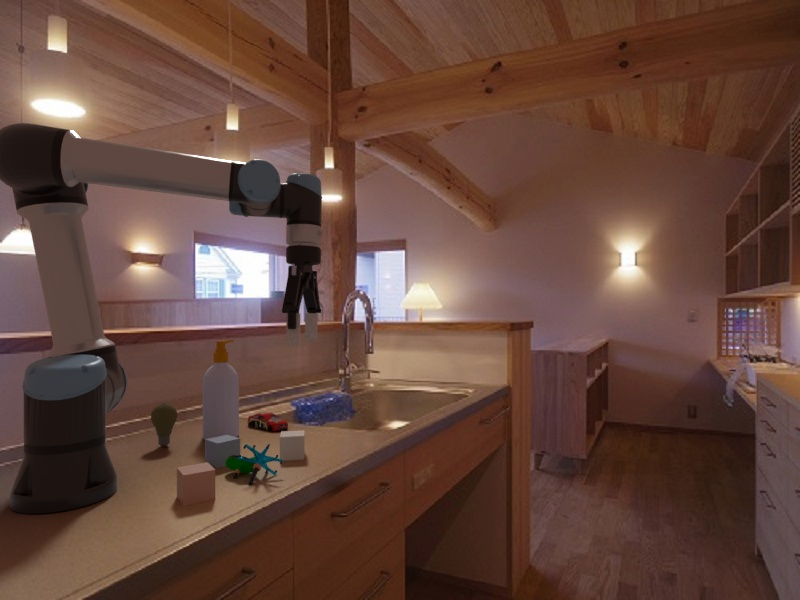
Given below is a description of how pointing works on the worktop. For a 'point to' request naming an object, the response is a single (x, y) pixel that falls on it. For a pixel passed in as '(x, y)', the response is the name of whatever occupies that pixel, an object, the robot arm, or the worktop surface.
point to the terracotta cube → (195, 483)
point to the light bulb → (164, 422)
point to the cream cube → (292, 445)
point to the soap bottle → (220, 396)
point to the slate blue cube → (221, 449)
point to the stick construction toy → (251, 463)
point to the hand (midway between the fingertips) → (302, 343)
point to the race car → (267, 422)
